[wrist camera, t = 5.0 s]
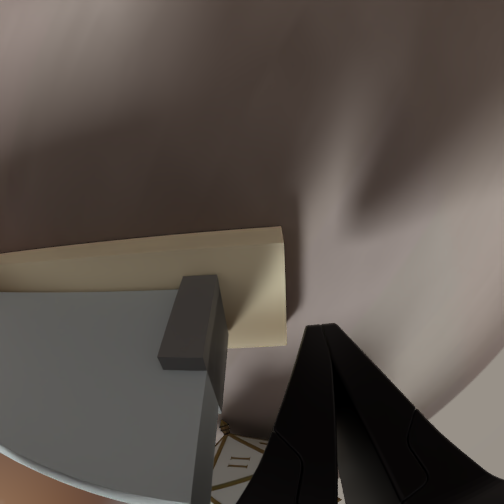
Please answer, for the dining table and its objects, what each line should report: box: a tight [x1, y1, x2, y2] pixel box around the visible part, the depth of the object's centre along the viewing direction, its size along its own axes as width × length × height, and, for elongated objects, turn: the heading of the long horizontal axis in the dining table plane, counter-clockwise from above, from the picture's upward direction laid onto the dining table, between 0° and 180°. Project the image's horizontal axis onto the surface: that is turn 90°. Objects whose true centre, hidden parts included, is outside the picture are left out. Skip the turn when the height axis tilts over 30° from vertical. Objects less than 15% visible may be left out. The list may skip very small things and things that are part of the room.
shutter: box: [0, 274, 229, 504], centre depth 7 cm, size 2×12×6 cm, turn 95°
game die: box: [210, 420, 341, 504], centre depth 13 cm, size 9×8×10 cm
